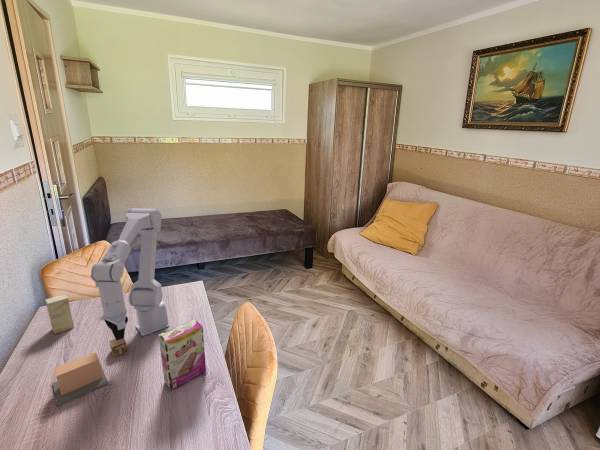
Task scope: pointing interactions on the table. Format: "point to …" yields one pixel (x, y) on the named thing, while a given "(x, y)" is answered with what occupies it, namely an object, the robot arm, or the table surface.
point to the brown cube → (118, 347)
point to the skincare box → (59, 313)
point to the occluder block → (78, 373)
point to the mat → (78, 390)
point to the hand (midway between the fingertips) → (119, 338)
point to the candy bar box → (182, 353)
